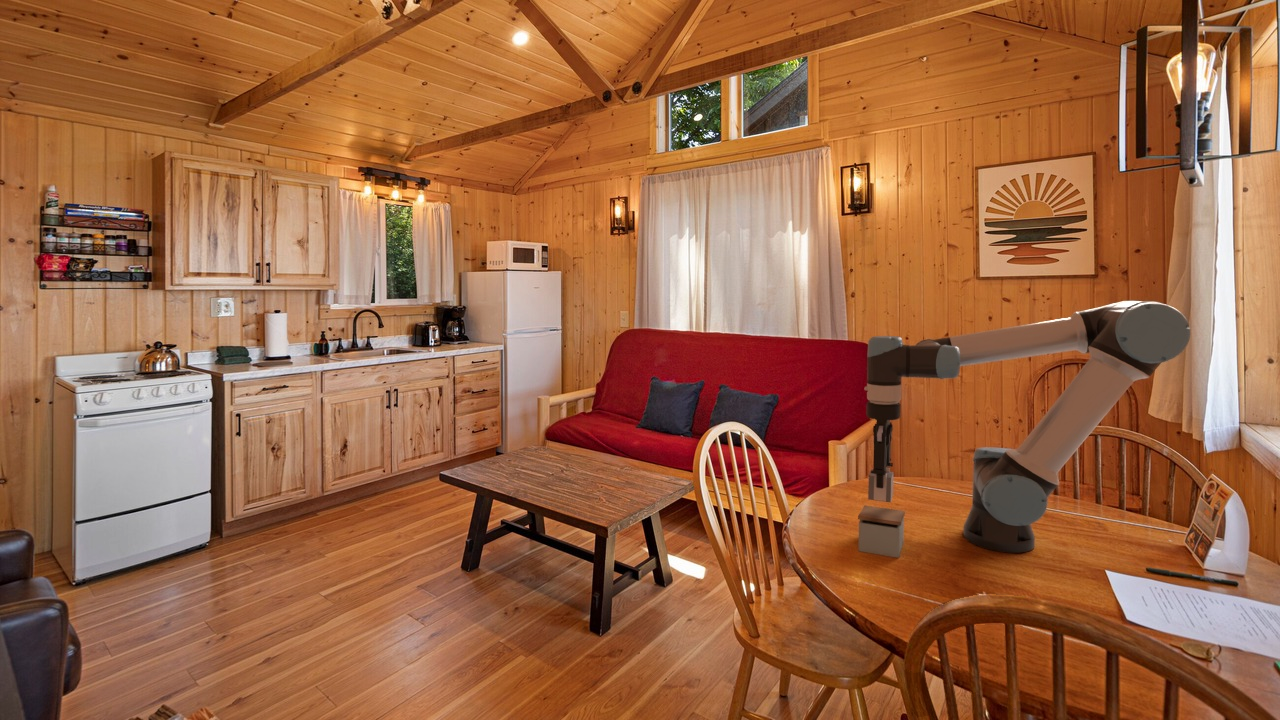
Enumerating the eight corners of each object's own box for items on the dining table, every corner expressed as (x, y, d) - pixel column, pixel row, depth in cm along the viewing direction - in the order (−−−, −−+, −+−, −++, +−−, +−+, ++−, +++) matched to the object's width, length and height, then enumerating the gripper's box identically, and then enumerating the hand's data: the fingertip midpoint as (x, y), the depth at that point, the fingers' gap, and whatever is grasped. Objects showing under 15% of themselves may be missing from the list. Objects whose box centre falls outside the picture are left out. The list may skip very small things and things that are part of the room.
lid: (904, 514, 149) (904, 510, 149) (900, 525, 140) (900, 522, 140) (864, 508, 153) (864, 505, 153) (858, 519, 144) (858, 515, 144)
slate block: (892, 496, 147) (893, 472, 146) (890, 502, 143) (891, 477, 142) (870, 493, 149) (871, 469, 149) (868, 499, 145) (868, 475, 144)
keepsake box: (903, 541, 149) (903, 514, 149) (899, 557, 141) (899, 529, 140) (864, 535, 154) (865, 509, 153) (858, 551, 145) (858, 522, 144)
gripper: (872, 394, 153) (870, 483, 156) (860, 407, 137) (859, 506, 140) (904, 396, 149) (902, 487, 152) (896, 409, 134) (894, 511, 136)
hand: (881, 496), depth 146 cm, fingers closed on slate block, 5 cm apart
